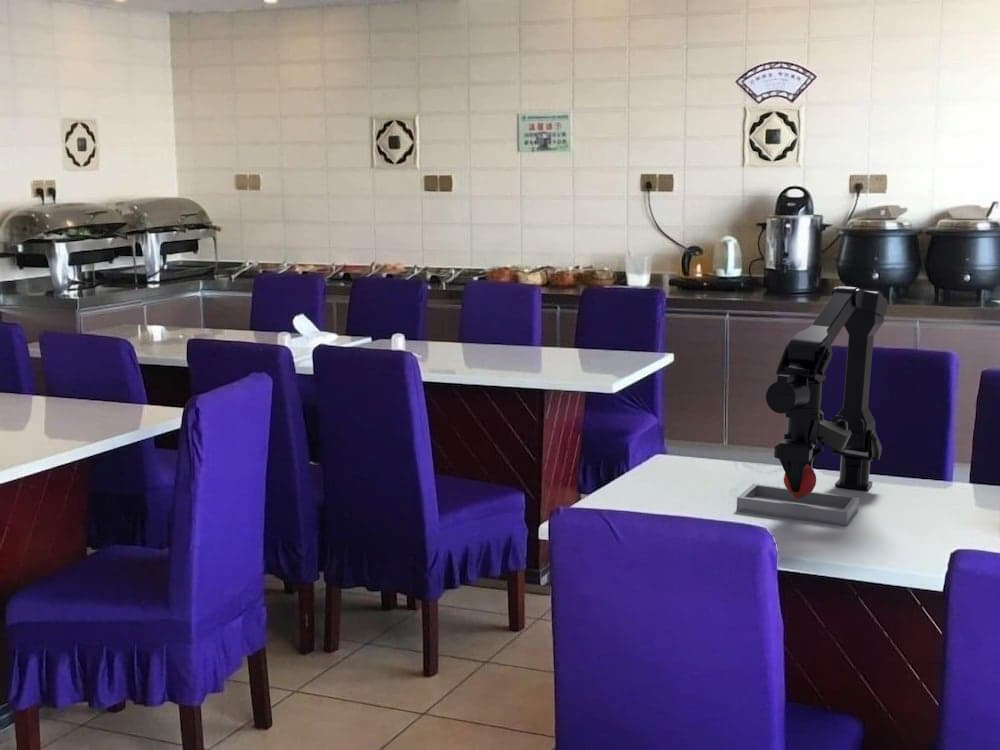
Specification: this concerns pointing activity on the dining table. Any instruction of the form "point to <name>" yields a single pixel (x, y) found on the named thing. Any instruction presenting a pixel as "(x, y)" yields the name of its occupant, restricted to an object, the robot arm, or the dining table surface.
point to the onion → (803, 483)
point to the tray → (798, 504)
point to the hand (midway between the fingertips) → (799, 488)
